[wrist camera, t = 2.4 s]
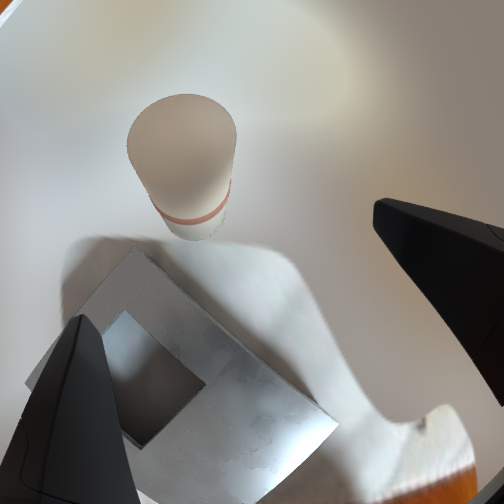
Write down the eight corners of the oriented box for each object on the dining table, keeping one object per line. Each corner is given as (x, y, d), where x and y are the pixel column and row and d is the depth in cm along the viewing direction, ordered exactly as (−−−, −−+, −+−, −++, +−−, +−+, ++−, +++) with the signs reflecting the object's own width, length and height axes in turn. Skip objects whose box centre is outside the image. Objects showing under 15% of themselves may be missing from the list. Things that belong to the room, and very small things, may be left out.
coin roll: (239, 208, 21) (261, 134, 11) (195, 255, 20) (178, 212, 11) (194, 168, 21) (184, 78, 12) (150, 211, 20) (104, 142, 11)
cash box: (318, 404, 20) (339, 423, 16) (212, 503, 17) (213, 533, 13) (149, 256, 20) (134, 246, 16) (51, 372, 18) (24, 383, 14)
